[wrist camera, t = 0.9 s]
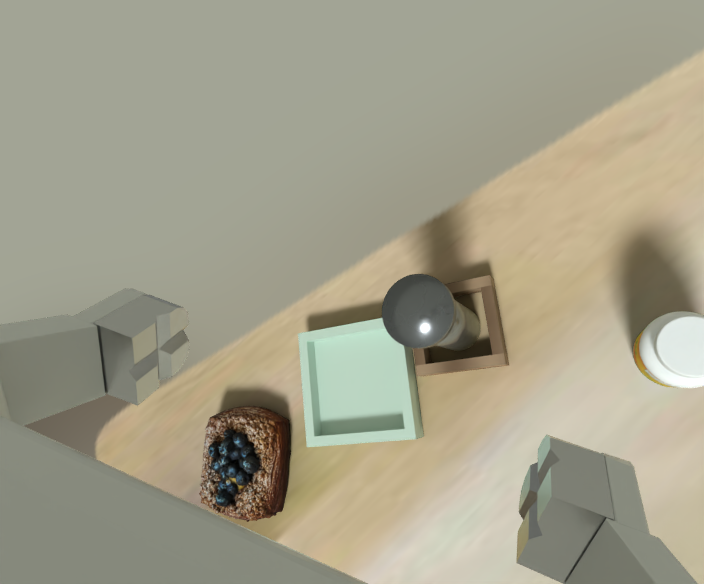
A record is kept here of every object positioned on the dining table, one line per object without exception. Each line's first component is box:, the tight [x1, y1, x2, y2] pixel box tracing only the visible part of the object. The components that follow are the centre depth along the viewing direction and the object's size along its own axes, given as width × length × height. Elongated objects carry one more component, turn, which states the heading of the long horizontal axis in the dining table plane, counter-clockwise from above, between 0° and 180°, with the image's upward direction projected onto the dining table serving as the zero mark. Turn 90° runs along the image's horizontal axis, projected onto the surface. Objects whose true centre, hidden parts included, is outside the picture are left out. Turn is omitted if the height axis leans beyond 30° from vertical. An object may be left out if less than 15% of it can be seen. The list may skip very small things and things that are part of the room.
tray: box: [298, 318, 424, 447], centre depth 50 cm, size 12×12×2 cm
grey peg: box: [382, 274, 480, 351], centre depth 42 cm, size 6×6×13 cm
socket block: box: [413, 275, 509, 376], centre depth 47 cm, size 8×8×2 cm
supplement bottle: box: [633, 311, 704, 388], centre depth 35 cm, size 5×5×10 cm
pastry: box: [199, 406, 291, 522], centre depth 53 cm, size 11×12×6 cm
